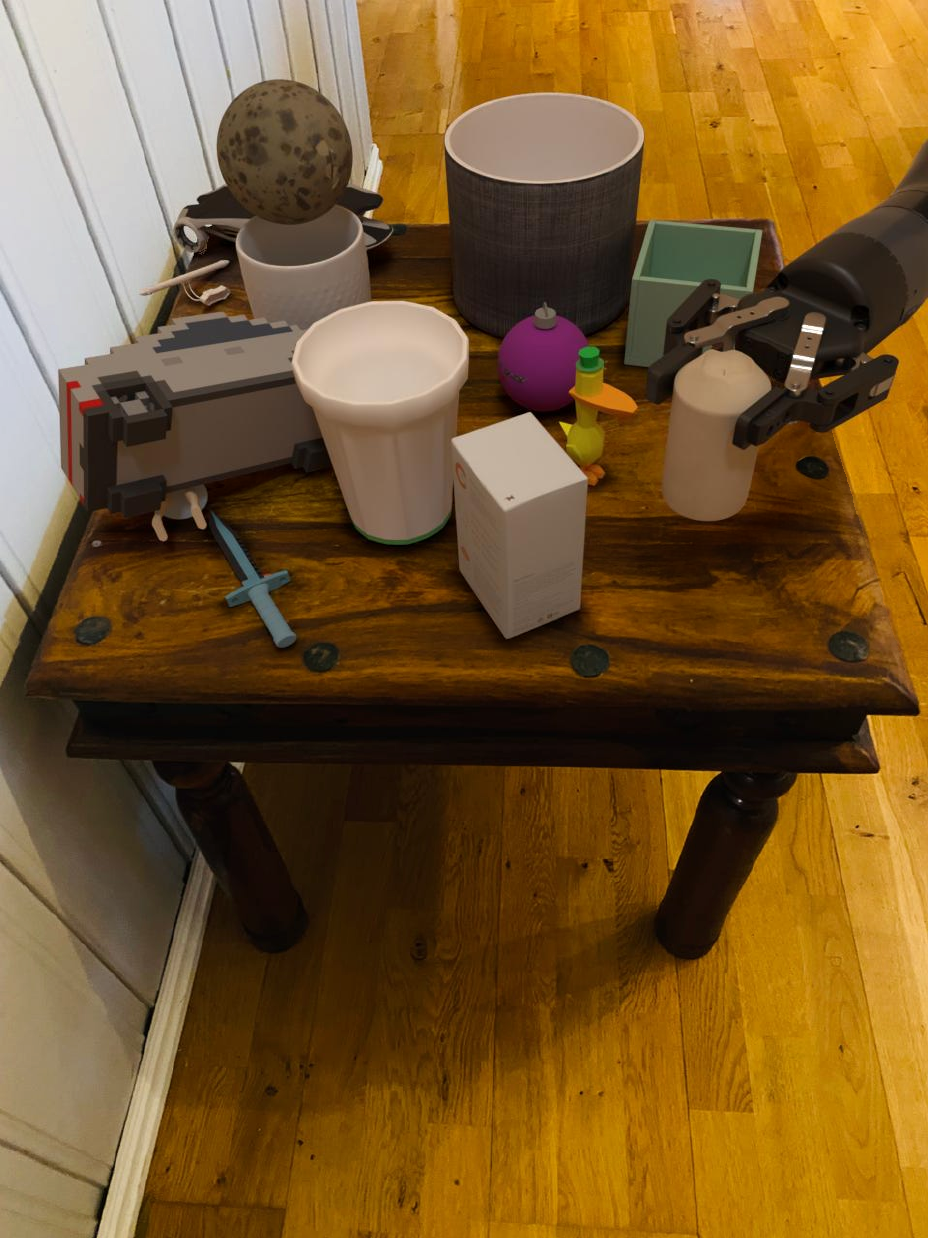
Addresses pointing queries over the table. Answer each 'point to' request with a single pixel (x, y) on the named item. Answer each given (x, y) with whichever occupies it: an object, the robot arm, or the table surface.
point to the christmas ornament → (541, 360)
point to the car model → (233, 215)
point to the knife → (252, 582)
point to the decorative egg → (284, 152)
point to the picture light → (206, 298)
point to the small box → (519, 522)
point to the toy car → (184, 412)
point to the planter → (543, 209)
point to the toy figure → (592, 412)
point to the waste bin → (683, 277)
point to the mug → (304, 267)
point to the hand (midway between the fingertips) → (695, 411)
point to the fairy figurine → (181, 508)
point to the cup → (387, 411)
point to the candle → (711, 435)
